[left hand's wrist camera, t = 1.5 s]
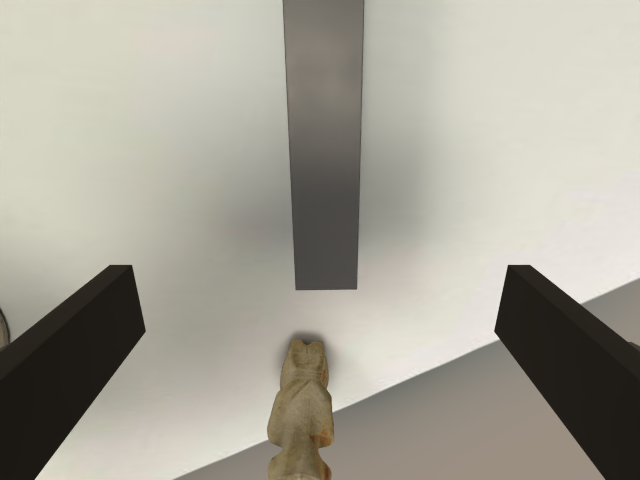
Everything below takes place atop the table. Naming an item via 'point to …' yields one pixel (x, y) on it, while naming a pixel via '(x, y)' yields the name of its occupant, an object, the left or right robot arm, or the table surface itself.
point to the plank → (324, 138)
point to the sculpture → (302, 415)
